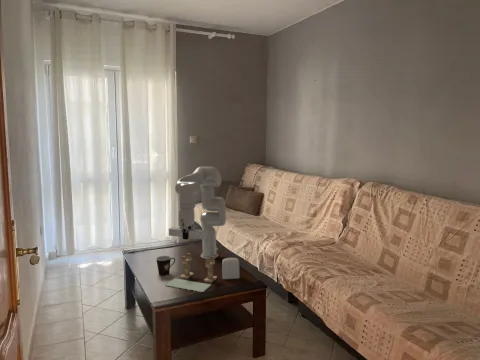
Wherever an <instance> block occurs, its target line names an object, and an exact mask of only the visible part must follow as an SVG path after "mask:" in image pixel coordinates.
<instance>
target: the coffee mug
mask: <svg viewBox="0 0 480 360" xmlns="http://www.w3.org/2000/svg"><path fill="white" fill-rule="evenodd" d="M172 259H173V260H174V261H173V263H171V260H172ZM155 260H156V266H157V271H158V275H159V276H161V277H163V276H164V277H165V276H166V277H167V276H168V275H170V271H171V270H170V269H171V268H172V266H173V265H174V264H175V263H176V259H175V257H171V256H169V255H160V256H158V257H156V258H155Z"/></svg>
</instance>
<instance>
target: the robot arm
mask: <svg viewBox="0 0 480 360" xmlns="http://www.w3.org/2000/svg"><path fill="white" fill-rule="evenodd" d="M221 184H222V177H221V173H220V172H219V170H218V169H217V167H215V166H198V167H197V168H196V169H194V171H193V172H192V173H191V174H188V175H185V176H182V177H181V178H179V179H178V181H177V182H176V183H175V188H174V189H175V193H176V194H177V195H179V211H178V228H180V229H181V230H182V234H183V237H182V240H189V238H188V232H187V229H194V228H193V227H194V225H195V210H194V206H195V205H194V203H195V202H194V196H196V195H199V193H200V192H201V208H202V209H203V211H205V212H202V213H201V214H200V224H201V230H207V238H205V239H201V241H202V243H201V244H202V245H201V246H202V252H201V254H200V257H201V258H202V259H205V260H206V259H207V260H210V257H211V256H214V257H215V259H216V258H218V257H219V253H218V252H217V251H218V250H219V248H218V246H217V232H216V229H215V227H223V226H225V225H226V219H227V218H226V214H227V213H226V211H227V210H226V200H225V198H224V197H222V196H215V189H214V187H220V186H221ZM185 228H186V229H185Z"/></svg>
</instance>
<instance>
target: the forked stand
mask: <svg viewBox="0 0 480 360" xmlns="http://www.w3.org/2000/svg"><path fill="white" fill-rule="evenodd" d="M191 261H192V253H190V252H187V253H186V256H184V255H182V256H181V264H183V273H182V274H181V275H179V277H180V278H179V279H185V280H188V279H189V278H190V277H191V278H192V276H194V272H191V270H190V262H191ZM204 263H205V268H207V277H205V278H204V279H203V282H204V283H209V284H212V283H214V282H215V281H216V280H217V279H218V276H217V275H214V265H215V264H216V258H215V257H214V256H211V257H210V259H205V261H204Z"/></svg>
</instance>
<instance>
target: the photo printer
mask: <svg viewBox="0 0 480 360" xmlns="http://www.w3.org/2000/svg"><path fill="white" fill-rule="evenodd" d="M221 268H222V269H221V274H222V276H221V277H222V279H223V280H234V279H235V280H237V279H240V277H241V276H240V261H239V258H237V257H226V258H224V259H222V263H221Z"/></svg>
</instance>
